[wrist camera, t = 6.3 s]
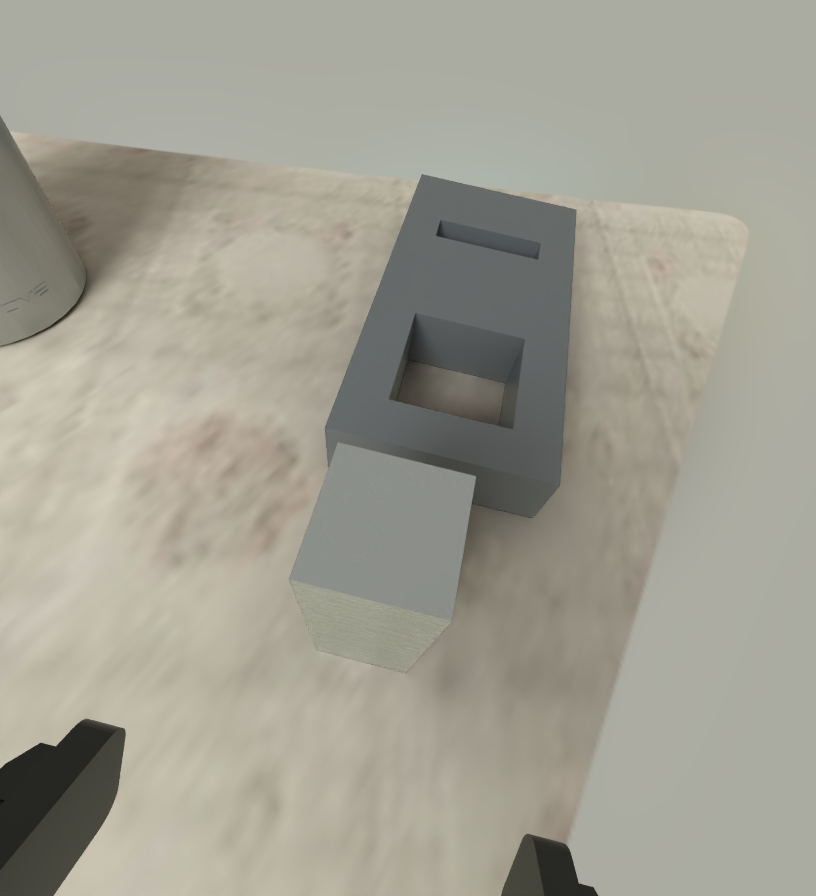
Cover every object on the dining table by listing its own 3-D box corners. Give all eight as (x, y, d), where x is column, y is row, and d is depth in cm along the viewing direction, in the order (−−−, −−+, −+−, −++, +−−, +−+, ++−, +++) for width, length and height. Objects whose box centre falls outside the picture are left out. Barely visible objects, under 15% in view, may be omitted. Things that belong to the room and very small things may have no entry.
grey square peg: (405, 673, 19) (451, 620, 10) (316, 649, 19) (288, 579, 10) (424, 583, 21) (476, 476, 12) (342, 562, 21) (337, 442, 12)
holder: (532, 518, 23) (559, 485, 20) (328, 467, 23) (324, 427, 20) (556, 257, 33) (576, 209, 30) (415, 224, 33) (421, 174, 30)
